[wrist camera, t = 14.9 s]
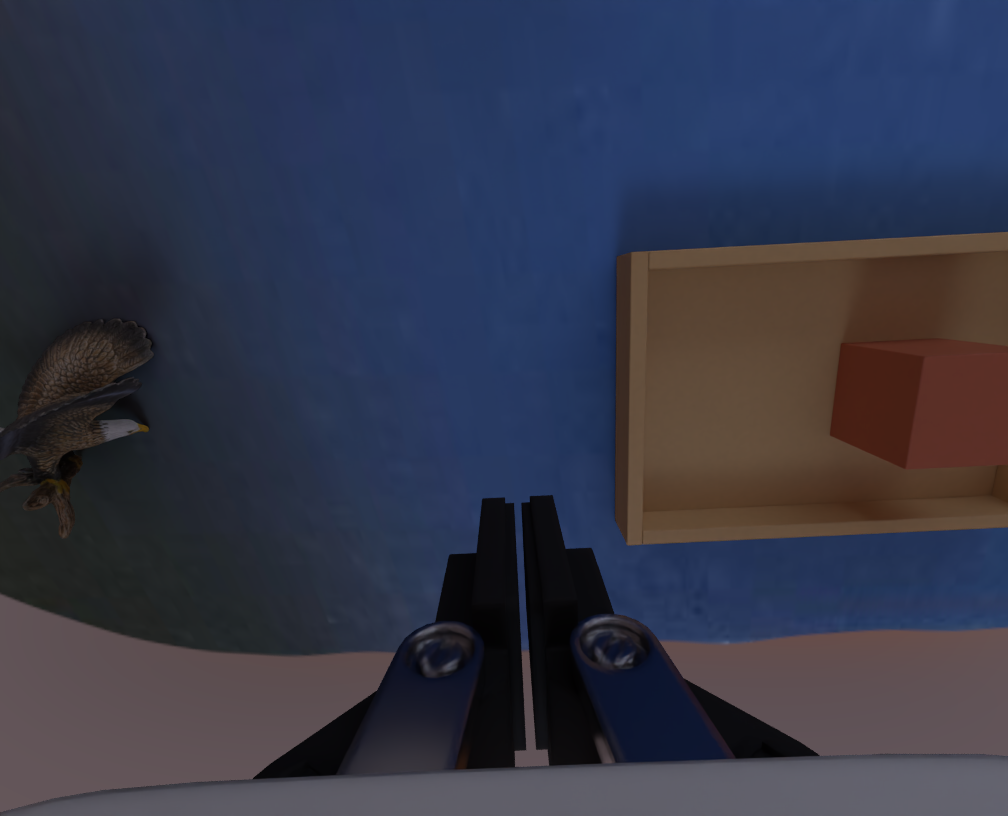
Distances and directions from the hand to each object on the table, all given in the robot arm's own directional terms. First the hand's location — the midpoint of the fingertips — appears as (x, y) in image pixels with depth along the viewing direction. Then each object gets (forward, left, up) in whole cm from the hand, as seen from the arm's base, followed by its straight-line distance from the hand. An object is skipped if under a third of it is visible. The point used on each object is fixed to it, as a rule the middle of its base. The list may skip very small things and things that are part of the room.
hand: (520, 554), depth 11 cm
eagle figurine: (-22, +1, -15) cm, 26 cm away
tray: (+16, 0, -15) cm, 22 cm away
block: (+20, 0, -14) cm, 24 cm away
